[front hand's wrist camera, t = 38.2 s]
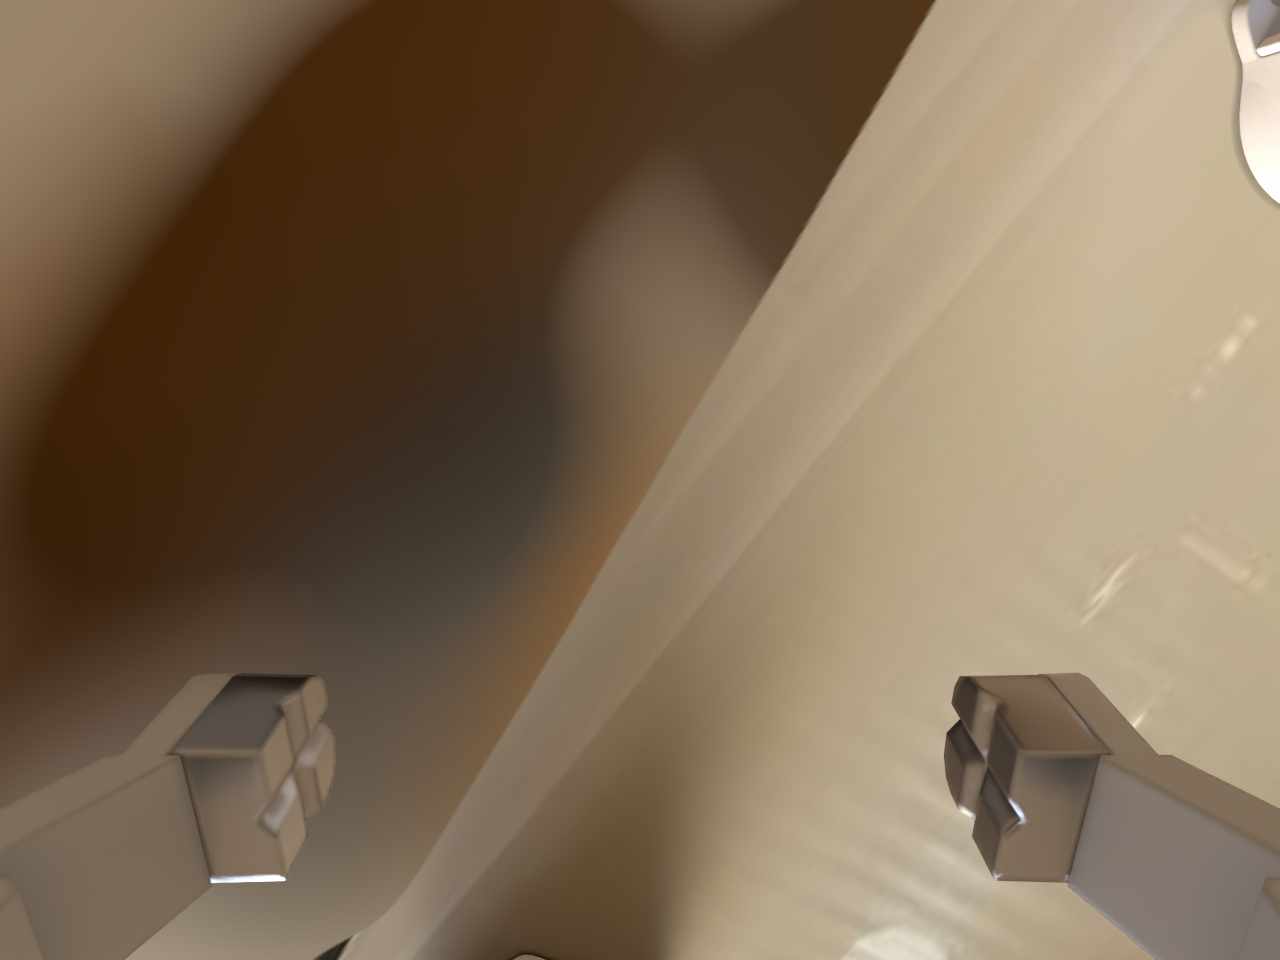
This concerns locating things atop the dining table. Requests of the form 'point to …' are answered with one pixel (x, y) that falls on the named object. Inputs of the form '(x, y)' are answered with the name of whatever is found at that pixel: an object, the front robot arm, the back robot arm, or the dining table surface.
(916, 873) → the dining table surface
